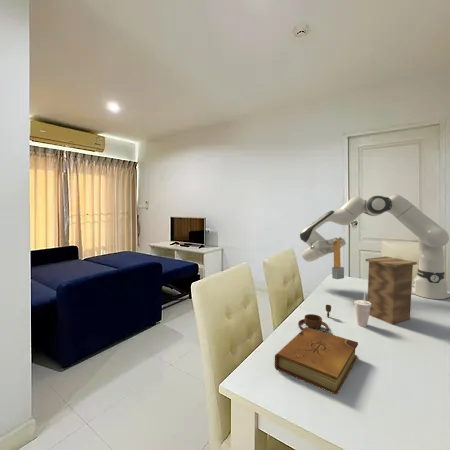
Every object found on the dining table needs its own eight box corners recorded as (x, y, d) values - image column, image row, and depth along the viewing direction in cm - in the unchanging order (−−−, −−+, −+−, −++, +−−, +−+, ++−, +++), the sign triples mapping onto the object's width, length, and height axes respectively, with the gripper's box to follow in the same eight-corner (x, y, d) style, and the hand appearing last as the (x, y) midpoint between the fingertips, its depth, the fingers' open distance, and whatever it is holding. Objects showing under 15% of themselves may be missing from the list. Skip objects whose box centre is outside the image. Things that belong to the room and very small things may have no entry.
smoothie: (372, 328, 109) (374, 295, 108) (356, 327, 110) (357, 294, 109) (367, 322, 115) (369, 290, 114) (352, 320, 116) (353, 289, 115)
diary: (303, 340, 101) (304, 326, 100) (357, 358, 89) (358, 342, 88) (274, 369, 83) (274, 351, 82) (336, 396, 71) (337, 376, 71)
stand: (363, 313, 124) (365, 258, 122) (383, 308, 129) (385, 256, 127) (393, 326, 111) (395, 265, 109) (413, 320, 117) (416, 262, 115)
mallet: (331, 238, 146) (336, 238, 142) (338, 237, 148) (343, 238, 145) (332, 278, 146) (337, 279, 143) (338, 277, 148) (344, 278, 145)
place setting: (289, 321, 117) (289, 308, 117) (327, 316, 123) (328, 303, 122) (312, 340, 100) (312, 325, 100) (356, 333, 106) (356, 319, 105)
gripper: (306, 244, 153) (322, 234, 141) (332, 241, 161) (349, 232, 150) (310, 254, 150) (326, 245, 139) (336, 251, 159) (354, 242, 147)
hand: (338, 238), depth 144 cm, fingers closed on mallet, 2 cm apart
